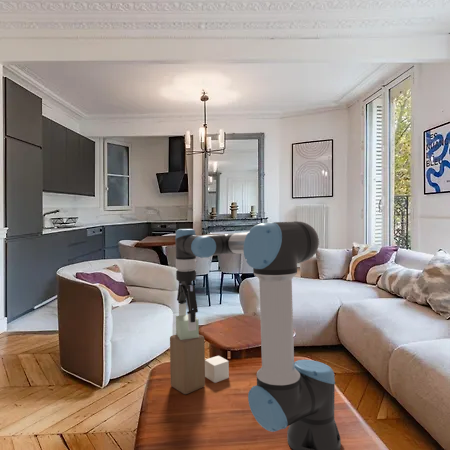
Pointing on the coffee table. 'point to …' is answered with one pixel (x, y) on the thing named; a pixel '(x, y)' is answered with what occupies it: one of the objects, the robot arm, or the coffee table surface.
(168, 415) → the coffee table surface
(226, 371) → the cream cube
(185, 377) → the wooden block
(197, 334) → the sage cube
